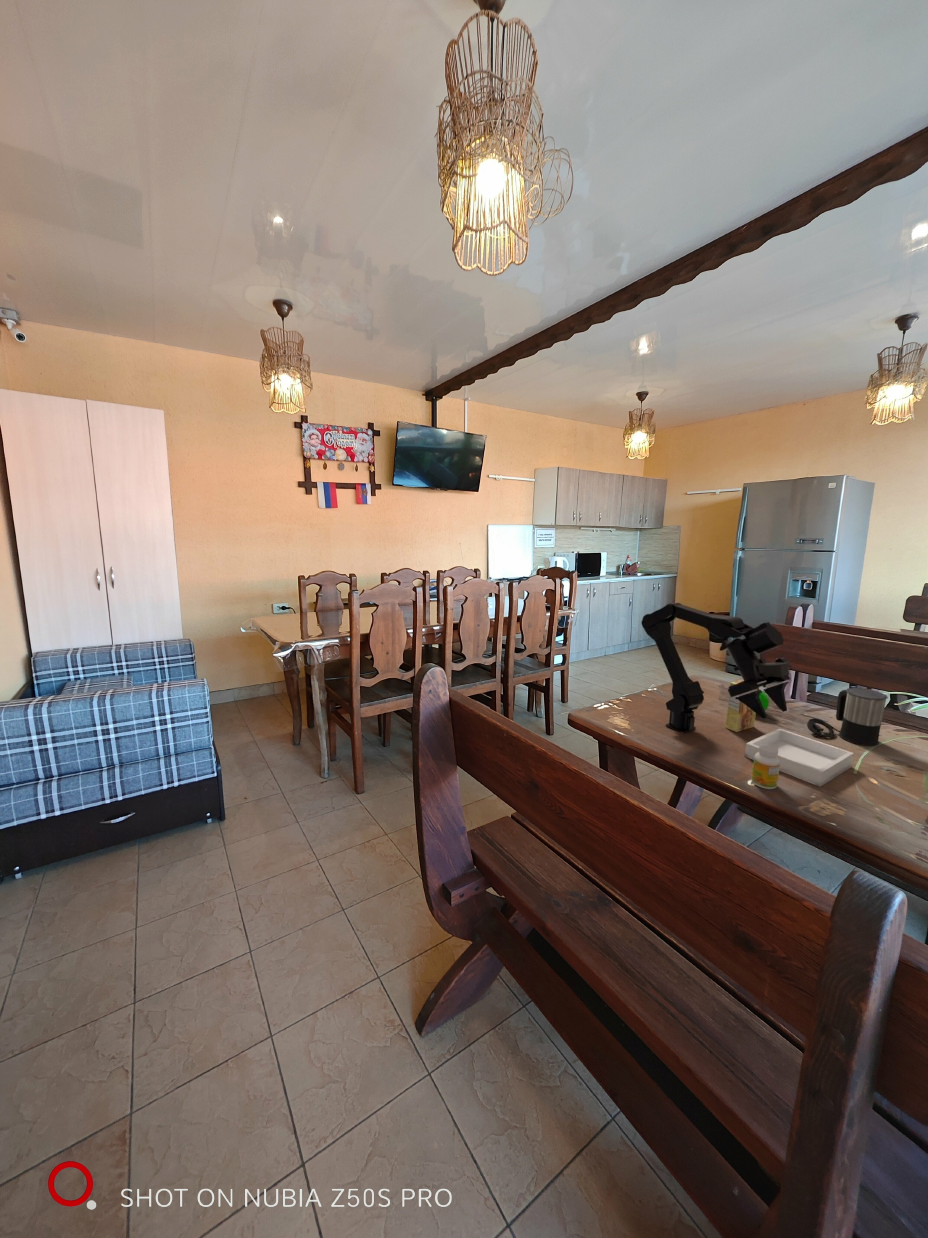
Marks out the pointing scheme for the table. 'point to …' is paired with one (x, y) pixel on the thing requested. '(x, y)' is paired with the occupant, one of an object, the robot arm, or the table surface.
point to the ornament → (764, 700)
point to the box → (804, 756)
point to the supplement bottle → (766, 767)
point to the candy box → (739, 714)
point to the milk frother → (855, 716)
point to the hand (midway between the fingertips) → (775, 714)
